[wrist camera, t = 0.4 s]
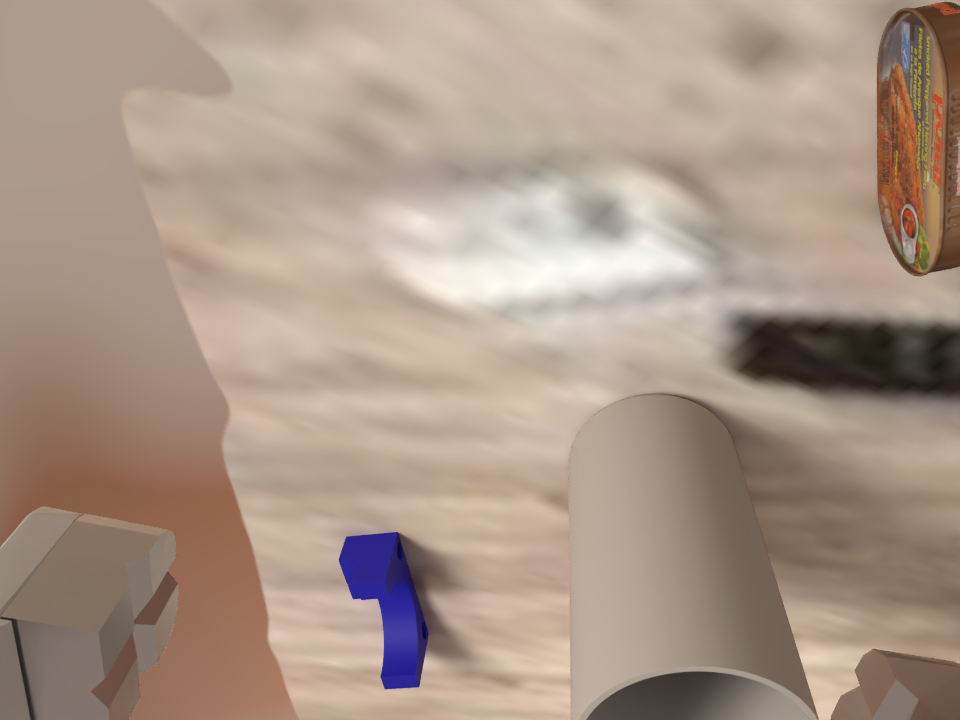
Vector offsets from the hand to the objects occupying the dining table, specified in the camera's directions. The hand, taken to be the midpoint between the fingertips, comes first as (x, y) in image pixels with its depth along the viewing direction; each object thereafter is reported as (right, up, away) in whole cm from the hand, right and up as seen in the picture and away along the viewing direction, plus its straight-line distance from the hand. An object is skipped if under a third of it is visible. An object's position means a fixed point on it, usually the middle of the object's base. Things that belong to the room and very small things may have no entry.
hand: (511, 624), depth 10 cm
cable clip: (-8, -17, +64) cm, 66 cm away
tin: (+25, +17, +41) cm, 51 cm away
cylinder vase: (+13, -4, +54) cm, 56 cm away
